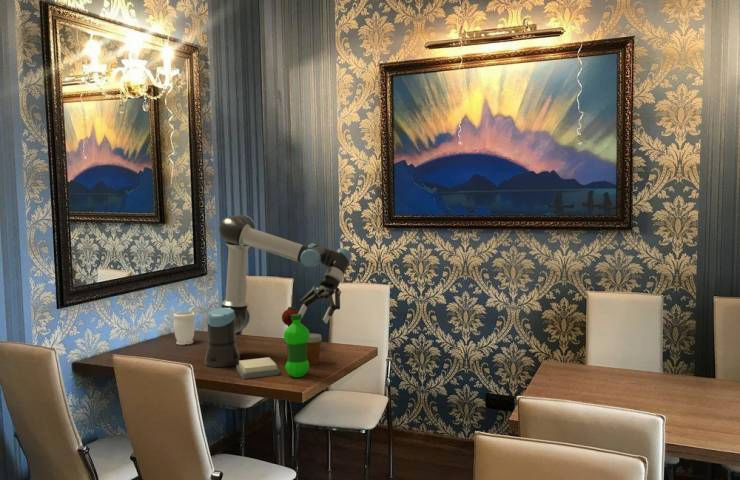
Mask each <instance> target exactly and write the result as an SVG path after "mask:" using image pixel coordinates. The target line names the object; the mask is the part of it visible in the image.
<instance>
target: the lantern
mask: <svg viewBox="0 0 740 480" xmlns="http://www.w3.org/2000/svg"><path fill="white" fill-rule="evenodd" d="M292 298H293V297H292V296H290V306H288V307H287V309H286V310H284V311H283V312H282V314H281V320H282V321H281V322H283V324H284V325H286V326H287V328H288V327H289V326H290V325H291V324H292V323H293V320H291V315H292V314H298V313H299V309H297V308H296V306H292V301H293V300H292ZM301 321H302V319H301V320H300V322H301Z"/></svg>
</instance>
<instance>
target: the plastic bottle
mask: <svg viewBox="0 0 740 480" xmlns="http://www.w3.org/2000/svg"><path fill="white" fill-rule="evenodd" d="M302 318H303V317H302V314H292V315H291V320H293V323H292V324H291V325H290V326H289V327H288V326H287V328H286V329H285V330H284V333H283V339H284V342H285V343H286V348H287V349H286V350H287V360H286V362H285V367H284V368H285V372H286V373H287V374H289V375H290V377H293V378H301V377H304V376H305V375H306V374H308V372H309V368H310V364H309V362H308V360H307V343H306V342H307V341H308V340H309V334H310V330H309V329H308V327H306V326H305V325H304V324H303V323H301V321H302ZM300 320H301V321H300Z"/></svg>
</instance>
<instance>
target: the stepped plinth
mask: <svg viewBox="0 0 740 480" xmlns="http://www.w3.org/2000/svg"><path fill="white" fill-rule="evenodd" d="M235 369H236V372H237V373H238V374H239V376H240V377H241V378H242V379H243V380H246V379H254V378H255V379H256V378H262V377H273V376H279V375H280V374H281V370H280V369H279V367H278V365H277V363H276V362H275V361H274V360H273V359H272V358H271V357H270V356H269V357H260V358H250V359H243V360H241V359H240V361H239V363H238V364H236V365H235Z"/></svg>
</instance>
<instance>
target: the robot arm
mask: <svg viewBox="0 0 740 480" xmlns="http://www.w3.org/2000/svg"><path fill="white" fill-rule="evenodd" d="M218 233H219V235H220V237H221V238H222V239H223V240H224V241H225V245H226V246H227V248H228V253H227V254H228V255H227V256H228V257H227V271H226V286H225V299H224V300H223V301H222V302H221V307H218V308H215V309H211V310H210V311H209V312H208V314H207V320H206V321H207V342H208V345H207V350H206V354H205V356H204V365H205V366H207V367H210V368H225V367H230V366H236V365H239V361H240V360H241V356H240V353H239V351H238V347H237V345H236V344H237V343H236V333H238V332H241V331H243V330H244V329H245V328H247V326H248V325H249V323H250V318H251V314H250V312H249V310H248V302H246V300H245V299H246V298H245V296H246V282H247V266H248V256H249V255H248V252H249V249H250V247H252V248H255V249H258V250H260V251H264V252H266V253H270V254H273V255H276V256H279V257H283V258H285V259H289V260H291V261H295V262H297V263H300V264H302V265H303V266H305V268H313V267H316V266H318V265H322V266H325V267H327V269H326V271H325V273H324V276H323V277H322V279H321V281H320V285H319V287H316V285H313V286H312V287H311V289H310V290H309V291H308V292H307V293H306V294H304V296H303V297H302V298H301V299H299V301H298V302H299V303H298V304H300V306H299V309H298V311H299V313H298V314H302V318H303V317H304V315H305V313H306V312H307V309H308V306H309V305H311V304H313V303H314V302H315V301H317V300H320V299H328V301H329V304H330V305H329V306H328V308H327V310H326V311H325V314H324V316H323V318H322V321H323V322H324V323H325V324H328V322H329V320H330V318H331V317H332V316H333V314H334V312H335V311H336V310H340V309H341V294H342V291H341V289H340V288H339V286H340V283H341V282H342V280H343V277H344V275H345V273H346V271H347V269H348V267H349V266H350V264H351V261H352V258H353V256H352V252H351V251H349V250H348V249H347V248H342V247H340V248H338V249H337V250H333V249H331V248H330V249H329V248H326V247H324V246H323V245H320V244H318V243H312V242H311V243H309V245H308V246H307V245H304V244H301V243H298V242H295V241H292V240H288V239H286V238H282V237H280V236H276V235H273V234H270V233H267V232H264V231H261V230H258V229H257V226H256V223H255V221H254V220H253V219H252V218H251V217H250V216H248V215H243V214H237V215H230V216H229V215H228V216H226V217H224V218H223V219H222V220H221V221H220V223H219V226H218ZM333 295H334V299H333Z"/></svg>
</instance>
